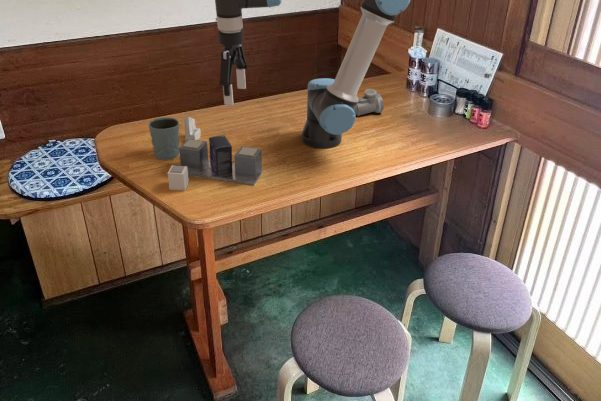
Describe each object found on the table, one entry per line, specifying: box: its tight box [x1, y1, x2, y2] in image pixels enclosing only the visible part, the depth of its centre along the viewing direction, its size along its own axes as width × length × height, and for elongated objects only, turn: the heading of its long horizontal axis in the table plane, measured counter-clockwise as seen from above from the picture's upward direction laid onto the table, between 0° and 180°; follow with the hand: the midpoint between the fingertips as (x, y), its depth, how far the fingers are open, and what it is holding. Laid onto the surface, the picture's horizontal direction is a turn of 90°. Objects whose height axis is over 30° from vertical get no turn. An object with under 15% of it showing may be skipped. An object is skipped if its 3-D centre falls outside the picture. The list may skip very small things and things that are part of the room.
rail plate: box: [179, 139, 264, 186], centre depth 184 cm, size 26×10×9 cm, turn 76°
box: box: [208, 134, 233, 176], centre depth 183 cm, size 8×6×11 cm
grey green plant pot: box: [147, 116, 180, 161], centre depth 193 cm, size 10×10×12 cm
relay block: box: [167, 165, 190, 192], centre depth 177 cm, size 5×5×6 cm
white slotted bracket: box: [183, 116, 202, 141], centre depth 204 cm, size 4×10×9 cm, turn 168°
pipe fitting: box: [354, 88, 385, 117], centre depth 228 cm, size 12×8×10 cm
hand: (235, 96), depth 178 cm, fingers open, 13 cm apart
